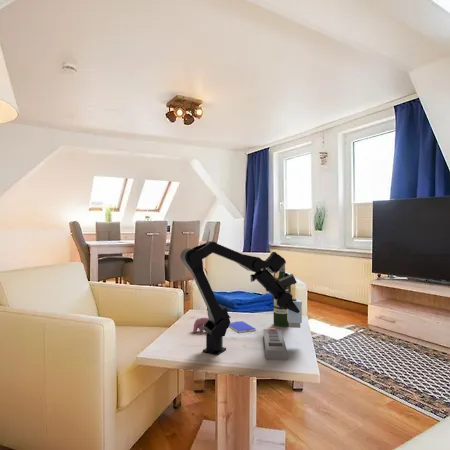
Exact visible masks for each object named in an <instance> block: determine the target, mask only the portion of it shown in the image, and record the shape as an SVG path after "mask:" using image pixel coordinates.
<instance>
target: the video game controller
mask: <svg viewBox="0 0 450 450" xmlns="http://www.w3.org/2000/svg"><path fill="white" fill-rule="evenodd" d="M208 320H209V318H208V317H200V318H197V319H195V321H194V324H193V328H192V329H193V331H192V332H193V334H196V333H197V331H198V329H199V331H200V332H205V330H204V327H203V326H204V325H205V323H206V322H207V321H208Z"/></svg>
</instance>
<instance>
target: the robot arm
mask: <svg viewBox="0 0 450 450" xmlns="http://www.w3.org/2000/svg"><path fill="white" fill-rule="evenodd" d="M211 254H214V255H217V256H219V257H222V258H225V259H227V260H230V261H232V262H234V263H236V264H237V265H238V266H240V267H242V268H243V269H245V270H246V271H247V272H253V273H254V274H253V273H252V274H250V283H253V282H255V281H257V282H258V283H259V284H260V285H261V286H262V287H263V288H264V290H265V291H266V292H268V293H269V294H270V295H271V296H272V297H273V300H274V299H275V300H276V303H277V305H278V306H279V307H280V308H282V307H283V308H286V309H289V310H291V311H294V312H296V313H299V312H300V311H299V309H298V308H297V306H296V305H295V304H294V302H293V301H292V299H293V294H292V292H291V293H290V291H289V290H288V291H285V290H286V289H288V286H290V285H291V286H292V285H296V284H297V283H298V282H297V280H296V278H295V276H294V274H293V273H290V274H289V273H288V272H285V274H283V278H282V279H280V280H279V279H278V277H275V275H273V274H277V273H279V270H280V269H281V268H282V267H283V266H284V265H285V266H286V264H287V261H286V259H285V258H284V257H282V256H281V255H280V254H278V253H277V252H276V251H272V252H271V253H270V254H269V256H268V257H267V258H266V259H265V260H264V259H262V258H261V257H258V256H255V255H254V256H253V255H248V254H245V253H240V252H238V251H236V250H233V249H231V248H229V247H226V246H224V245H221V244H219V243H217V242H216V241H213V240H212V241H211V240H208V241H206V242H204V243H202V244H200V245H196V246H195V247H191V248H189V247H186V248H184V249H182V251H181V253H180V255H179V258H180V261H181V262H182V263H183V265H184V267H186V269H187V270H188V271H189V273H190V274H191V275H192V277H193V280H194V282H195V284H196V285H197V289H198V291H199V293H200V295H201V298H202V299H203V302H204V304H205V306H206V309H207V312H206V313H207V318H209V320H208V321H207V322H206V323H205V325H203V327H204V332H206V335H205V340H206V341H205V348H204V349H202V352H203V353H208V354H211V355H215V356H216V355H221V353H223V352H224V351H226V350H227V347H225V346H224V345H223V341H224V340H223V339H224V338H223V337H225V336H226V333H227V330H228V329H229V328H230V327H229V325H230V323H231V316H230V315H229V313H228V309H227V307H225V306H224V305H222V304H219V303H218V302H219V301H218V300H217V298H216V296H215V294H214V291H213V289H212V286H211V284H210V282H209V280H208V278H207V275H206V274H205V271H204V261H203V260H204V259H206V258H208V256H210V255H211ZM223 346H224V347H223Z"/></svg>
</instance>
